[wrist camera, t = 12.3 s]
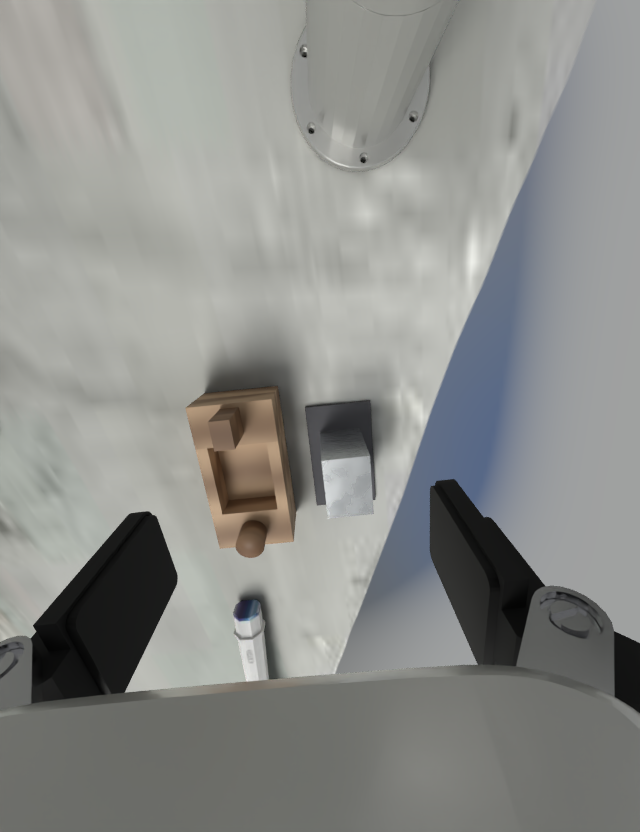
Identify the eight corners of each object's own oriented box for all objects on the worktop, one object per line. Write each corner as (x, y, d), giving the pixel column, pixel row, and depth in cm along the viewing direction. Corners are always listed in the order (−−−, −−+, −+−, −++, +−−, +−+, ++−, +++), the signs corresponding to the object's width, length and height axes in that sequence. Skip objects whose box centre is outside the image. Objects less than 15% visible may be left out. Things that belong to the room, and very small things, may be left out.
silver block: (320, 432, 40) (321, 460, 33) (359, 428, 40) (370, 455, 33) (325, 481, 43) (327, 518, 35) (363, 477, 43) (373, 513, 35)
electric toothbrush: (262, 618, 46) (281, 757, 50) (269, 585, 52) (285, 710, 57) (225, 621, 46) (247, 759, 51) (236, 587, 52) (255, 712, 57)
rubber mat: (305, 407, 40) (305, 407, 39) (369, 400, 40) (370, 401, 39) (316, 503, 44) (316, 505, 44) (374, 498, 44) (375, 499, 44)
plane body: (204, 393, 39) (168, 420, 29) (277, 385, 39) (265, 410, 29) (232, 518, 45) (209, 574, 35) (296, 511, 45) (291, 566, 35)
